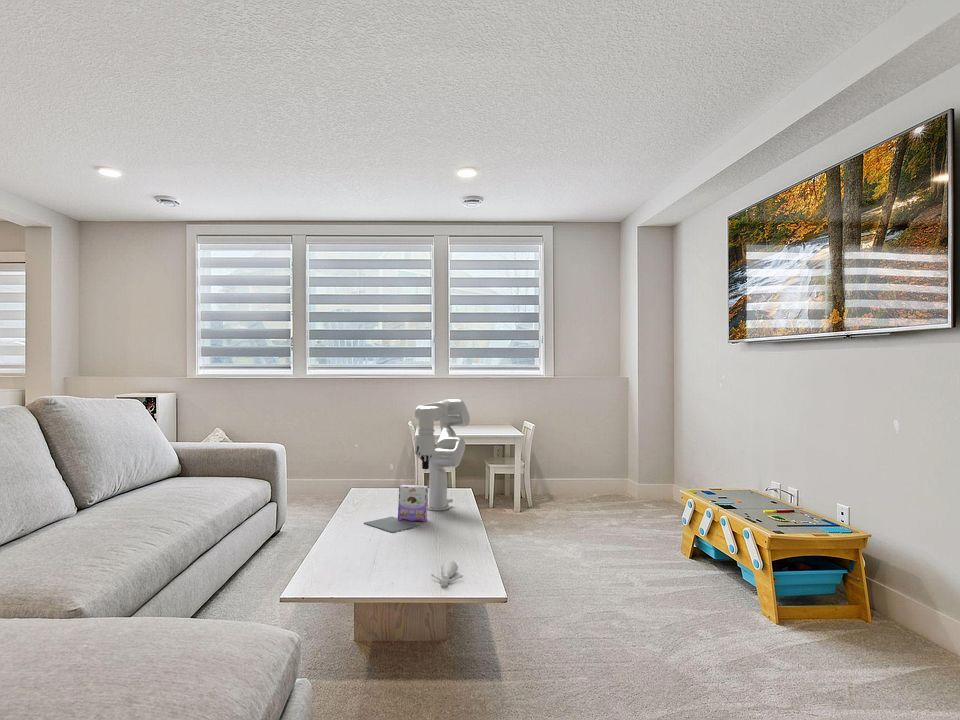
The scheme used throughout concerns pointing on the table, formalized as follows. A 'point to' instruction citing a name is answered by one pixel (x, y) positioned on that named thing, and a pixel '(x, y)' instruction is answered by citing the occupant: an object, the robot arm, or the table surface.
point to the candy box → (413, 503)
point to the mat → (392, 524)
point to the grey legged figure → (448, 572)
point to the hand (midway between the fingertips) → (425, 468)
